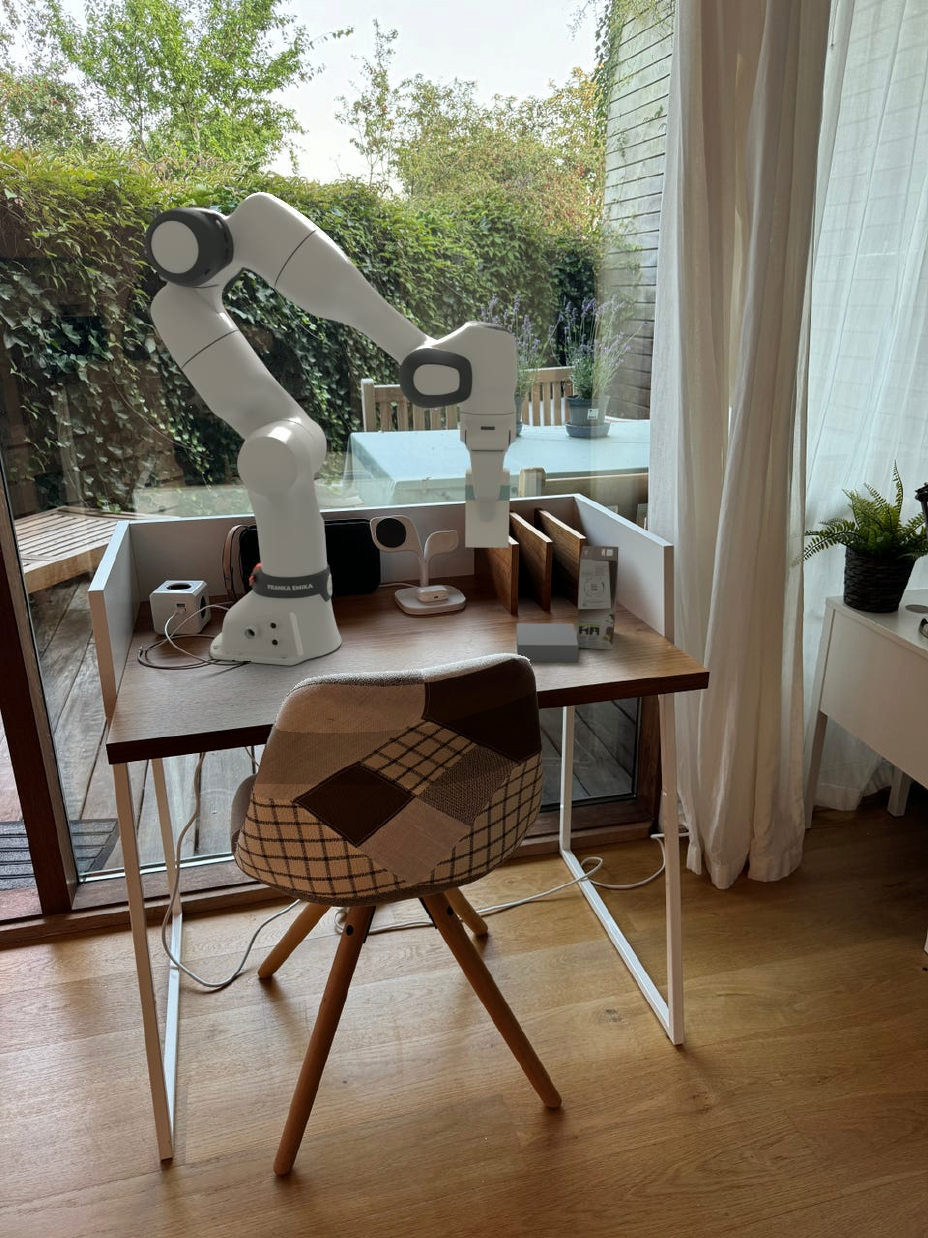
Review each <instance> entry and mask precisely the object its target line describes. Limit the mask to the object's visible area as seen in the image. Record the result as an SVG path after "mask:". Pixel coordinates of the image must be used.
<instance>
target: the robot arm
mask: <svg viewBox="0 0 928 1238" xmlns="http://www.w3.org/2000/svg"><path fill="white" fill-rule="evenodd" d="M144 246H145V253H146V256H147V258H148V261H149V263H150V264H151V266H152V267H153V269H154V271H156V273H157V274H158V275H159V276H161V277H162V278H163V279H164V280H166V281H167V283H166V285H165V286H164V287H162V288H161V289H159V291H158V292H157V293H156V295H155V296H154V298H153V300H152V302H151V305H150V317H151V319H152V322H153V324H154V326H155V328H156V330H157V332H158V334H159V336H160V338H161V340H162V342H163V343H164V345H165V347H166V349H167V350H168V352H169V353H170V356H171V357H172V359H173V360H174V361H175V362H176V364H177V366H178V367H179V369H180V370H181V371H182V372H183V374H184V375H185V376H186V378H187V379H188V381H189V382H190V384H191V385H192V386H193V388H194V389H195V390H196V392H197V393H198V395H199V396H200V398H201V399H202V400H203V401H204V403H205V404H206V405H207V407H208V408H209V409H210V412H212V413H213V414H214V415H215V416H217V417H218V418H220V419H221V420H223V421H224V422H226V423H227V424H228V425H229V426H230V427H231V428H233V430H235V432H236V433H237V434H239V436H241V438H243V439H244V441H243V443H242V446H241V448H240V450H239V453H238V455H237V463H236V464H237V465H236V467H237V472H238V475H239V478H240V480H241V482H242V483H243V484H244V485H245V487H246V490H247V491H246V492H247V495H248V499H249V503H250V505H251V508H252V511H253V515H254V520H255V523H256V528H257V529H256V531H257V538H258V547H259V557H260V562H259V563H257V564H256V566H255V567H254V568H253V570H252V573H251V574H250V577H249V579H248V580H249V586H250V587H251V589H252V590H250V591H249V592H248V593H247V594H246V595H244V596H243V597H242V598H240V600H238V601H237V602H236V603H235V604H234V605H232V606H231V608H230V609H229V610H228V611H227V612H226V614H225V616H224V619H223V623H222V630H221V631H222V632H220V633H219V634H218V635H217V636H215V638H214V639H213V640H212V642H211V644H210V647H209V648H210V651H209V652H210V653H209V654H210V657H211V656H212V657H213V658H212V657H211V658H212V659H214V660H221V661H222V660H223V661H232V660H235V661H234V662H243V661H251V662H250V663H255V664H256V663H257V664H265V665H266V664H268V665H269V664H270V665H278V666H279V665H280V666H295V665H297V664H300V663H302V662H304V661H306V660H309V659H313V658H317V657H318V658H319V657H321V656H325V655H327V654H329V653H332V652H333V651H335V650H337V649H338V648H340V646H341V645H342V641H343V640H342V637H341V635H340V632H339V630H338V626H337V623H336V618H335V614H334V611H333V610H334V609H333V604H332V599H331V598H332V595H333V583H332V574H331V569H330V565H329V564H328V561H327V560H328V559H327V547H326V546H327V544H326V532H325V531H326V530H325V519H324V518H323V517H322V514H321V512H320V507H319V503H318V499H317V494H316V489H315V474H316V473H317V472H318V471H319V470H320V469H321V467H322V466H323V464H324V463H325V460H326V457H327V447H328V446H327V438H326V435H325V433H324V431H323V429H322V427H321V426H320V425H319V423H317V422H316V421H314V420H313V419H312V418H311V417H310V416H309V415H308V414H307V412H306V411H304V408H302V407H301V406H300V405H299V404H298V402H297V401H296V400H295V399H294V398H293V396H291V394H289V392H287V390H286V389H284V387H283V385H281V384H280V383H279V382H278V381H277V380H276V378H275V377H274V376H273V375H272V373H270V371H269V370H268V369H267V367H266V366H265V364H264V363H263V362H262V360H261V359H260V357H259V356H258V355H257V353H256V352H255V350H254V349H253V347H252V346H251V345H250V343H249V342H248V340H247V339H246V337H245V336H244V334H243V333H242V332H241V330H240V329H239V327H238V325H236V323H235V322H234V320H233V319H232V318H231V316H230V314H229V313H228V312H227V311H228V310H226V307H225V306H224V303H223V297H226V296H228V295H229V294H230V292H231V291H232V289H233V287H234V286H235V284H236V283H237V282H238V280H239V279H240V278H241V276H242V275H243V274H244V272H245V271H246V269H248V270H250V271H252V272H254V273H255V274H257V275H258V276H260V277H261V278H262V279H263V280H265V282H267V283H268V284H269V285H270V286H272V288H274V289H275V290H276V291H277V293H279V294H280V295H282V296H283V297H284V298H285V299H287V300H288V301H290V303H292V304H293V305H295V306H296V307H298V308H299V309H302V310H303V311H305V312H307V313H309V314H310V315H312V316H314V317H316V318H320V319H325V320H329V321H334V322H337V323H340V324H344V325H347V326H349V327H352V328H353V329H355V330H357V331H359V332H360V333H362V334H363V335H365V336H366V337H367V338H369V339H370V340H371V341H372V342H374V344H376V345H377V346H378V347H379V348H380V349H382V350H383V351H384V352H385V353H387V354H388V355H389V356H390V357H392V358H393V359H394V360H396V362H398V363H399V365H400V368H399V371H398V384H399V387H400V390H401V391H402V394H403V396H404V398H406V399H407V401H409V403H411V404H412V405H414V406H416V407H418V408H421V409H425V410H437V409H441V408H444V407H449V406H454V405H458V406H459V433H460V434H459V441H460V442H461V443H463V444H464V445H465V448H466V450H467V451H468V453H469V459H470V468H471V470H472V480H473V489H474V495H475V499H476V500H480V504H481V520H482V521H483V522H491V521H492V515H493V502H494V501H495V500H498V497H499V493H500V487H501V479H502V471H503V468H504V464H505V456H506V453H507V452H508V451H509V448H510V445H512V444H513V443H515V442H516V441H517V440H516V439H517V404H516V401H515V394H516V393H515V392H516V388H517V385H518V352H517V343H516V339H515V337H514V335H513V333H512V332H511V331H510V329H508V328H507V327H504V326H503V325H499V324H497V323H493V322H487V321H479V320H469V321H466V322H465V323H464V324H463V325H461V327H459V328H458V329H456V330H455V331H453V332H451V333H450V334H448V335H445V336H443V337H442V338H440V337H436V336H434V335H431V334H429V333H426V332H425V331H423V330H422V329H421V328H419V327H418V326H417V325H415V324H414V322H412V321H411V320H410V319H408V318H407V317H406V316H405V315H404V314H402V313H401V312H400V311H399V310H397V309H396V307H394V306H393V305H392V304H390V302H388V301H387V300H386V299H385V298H384V297H383V296H382V295H380V293H379V292H377V291H376V289H375V288H374V286H373V285H371V283H370V282H369V281H368V280H367V279H366V277H365V276H364V275H363V274H362V272H361V271H360V270H359V269H358V268H357V266H356V265H355V264H354V263H353V261H352V260H351V259H350V258H349V256H347V254H346V253H345V252H344V251H343V250H342V249H341V247H339V245H338V244H337V243H335V241H334V240H333V239H332V238H331V237H329V235H328V234H326V233H325V232H324V231H323V230H322V229H321V228H320V227H318V226H317V225H316V224H315V223H313V221H311V220H310V219H308V218H307V217H306V216H305V215H303V214H302V213H300V212H299V211H298V210H296V209H295V208H294V207H293V206H291V205H289V204H287V203H286V202H285V201H283V200H281V199H279V198H277V197H276V196H274V194H270V193H267V192H256V193H255V192H254V193H252V194H251V195H250V194H249V195H248V196H247V197H246V198H244V199H242V200H241V201H240V202H239V204H238V205H237V206H236V208H235V209H234V210H233V212H231V214H227V213H224V212H222V211H218V210H213V209H211V208H206V207H201V206H200V207H199V206H193V207H186V206H185V207H184V206H178V207H177V206H175V207H171V208H168V209H167V210H163V211H162V212H160V213H158V214H157V215H156V216H155V217H154V218H153V219H152V220H151V222H150V223H149V224H148V227H147V228H146V233H145V238H144Z"/></svg>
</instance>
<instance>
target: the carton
mask: <svg viewBox="0 0 928 1238" xmlns="http://www.w3.org/2000/svg"><path fill="white" fill-rule="evenodd" d="M464 485H465V486H464V491H465V492H464V500H465V505H464V506H465V515H464V517H465V521H464V522H465V525H464V526H465V528H464V529H465V532H464V533H465V534H464V536H465V548H489V549H491V548H495V549H498V548H500V549H501V548H506V549H508V548H509V541H510V540H509V538H510V536H509V535H510V501H511V500H510V499H511V470H510V467H503V471H502V479H501V487H500V493H499V497H498V500H495V501H494V502H493V515H492V521H491V522H483V521H482V520H481V504H480V500H476V499H475V495H474V489H473V480H472V470H471V467H466V469H465V484H464Z"/></svg>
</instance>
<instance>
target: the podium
mask: <svg viewBox="0 0 928 1238" xmlns="http://www.w3.org/2000/svg"><path fill="white" fill-rule="evenodd" d="M517 654H518V655H521V656H525V657H527V658H528V659H530V661H531V663H532V662H533V663H535V662H536V663H539V662H540V663H545V662H546V663H554V662H555V663H578V662H579V661H578V660H579V648H578V641H577V631H576V629H575V625H574V623H516V655H517Z"/></svg>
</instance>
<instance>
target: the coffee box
mask: <svg viewBox="0 0 928 1238" xmlns="http://www.w3.org/2000/svg"><path fill="white" fill-rule="evenodd" d="M618 571H619V546H610V545H609V546H607V545H595V546H594V545H583V546H582V550H581V552H580V556H579V572H578V573H579V575H578V576H579V577H578V594H577V595H578V596H577V597H578V598H577V619H576V621H577V623H576V624H577V625H576V637H577V641H578V649H579V648H580V649H581V648H582V649H593V650H606V651H612V650H613V642H614V634H615V625H616V623H615V622H616V612H617V611H616V610H617V609H616V608H617V593H618V592H617V591H618V574H619V573H618Z"/></svg>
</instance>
